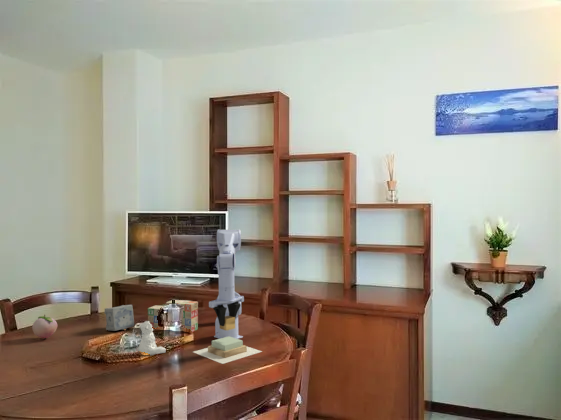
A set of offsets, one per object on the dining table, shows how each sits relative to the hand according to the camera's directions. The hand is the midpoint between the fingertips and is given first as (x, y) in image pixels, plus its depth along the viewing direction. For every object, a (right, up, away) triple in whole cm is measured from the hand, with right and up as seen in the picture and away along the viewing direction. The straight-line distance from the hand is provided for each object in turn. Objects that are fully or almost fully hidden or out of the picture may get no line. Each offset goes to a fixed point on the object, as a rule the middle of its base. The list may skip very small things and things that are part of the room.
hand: (227, 324), depth 169 cm
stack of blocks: (-27, -11, +33) cm, 44 cm away
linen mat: (0, -10, 0) cm, 10 cm away
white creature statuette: (-28, -11, 0) cm, 30 cm away
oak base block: (0, -10, 0) cm, 10 cm away
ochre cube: (0, -2, 0) cm, 2 cm away
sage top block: (0, -8, 0) cm, 8 cm away
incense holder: (-51, -11, +33) cm, 61 cm away
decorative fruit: (-76, -11, +19) cm, 79 cm away
